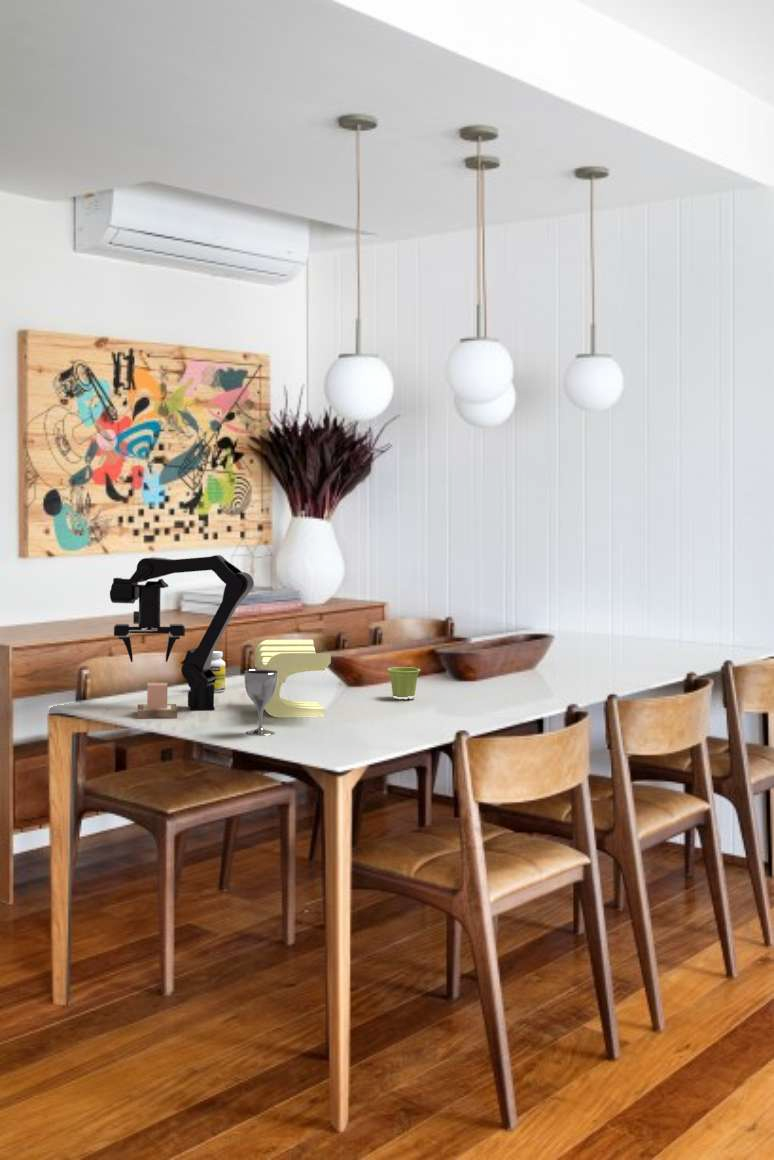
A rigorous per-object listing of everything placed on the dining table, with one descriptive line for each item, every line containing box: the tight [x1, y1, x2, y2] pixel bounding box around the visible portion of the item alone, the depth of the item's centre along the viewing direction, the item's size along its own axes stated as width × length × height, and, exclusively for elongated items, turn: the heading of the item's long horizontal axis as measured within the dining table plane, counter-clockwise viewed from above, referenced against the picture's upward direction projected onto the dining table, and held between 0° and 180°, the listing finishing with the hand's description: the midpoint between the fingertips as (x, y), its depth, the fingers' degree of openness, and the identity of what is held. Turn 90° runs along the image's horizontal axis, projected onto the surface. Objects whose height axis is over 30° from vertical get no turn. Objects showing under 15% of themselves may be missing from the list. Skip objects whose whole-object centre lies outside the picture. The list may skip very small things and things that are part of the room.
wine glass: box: [244, 668, 278, 737], centre depth 313 cm, size 8×8×15 cm
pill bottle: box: [209, 650, 226, 694], centre depth 377 cm, size 6×6×12 cm
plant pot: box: [387, 666, 421, 697], centre depth 371 cm, size 9×9×9 cm
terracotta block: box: [146, 682, 169, 709], centre depth 335 cm, size 5×5×6 cm
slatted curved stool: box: [254, 639, 332, 718], centre depth 343 cm, size 30×16×18 cm, turn 12°
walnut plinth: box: [136, 703, 178, 719], centre depth 336 cm, size 10×10×2 cm
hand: (149, 661), depth 349 cm, fingers open, 9 cm apart
